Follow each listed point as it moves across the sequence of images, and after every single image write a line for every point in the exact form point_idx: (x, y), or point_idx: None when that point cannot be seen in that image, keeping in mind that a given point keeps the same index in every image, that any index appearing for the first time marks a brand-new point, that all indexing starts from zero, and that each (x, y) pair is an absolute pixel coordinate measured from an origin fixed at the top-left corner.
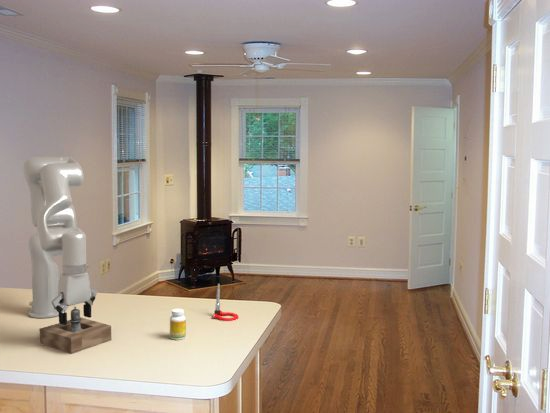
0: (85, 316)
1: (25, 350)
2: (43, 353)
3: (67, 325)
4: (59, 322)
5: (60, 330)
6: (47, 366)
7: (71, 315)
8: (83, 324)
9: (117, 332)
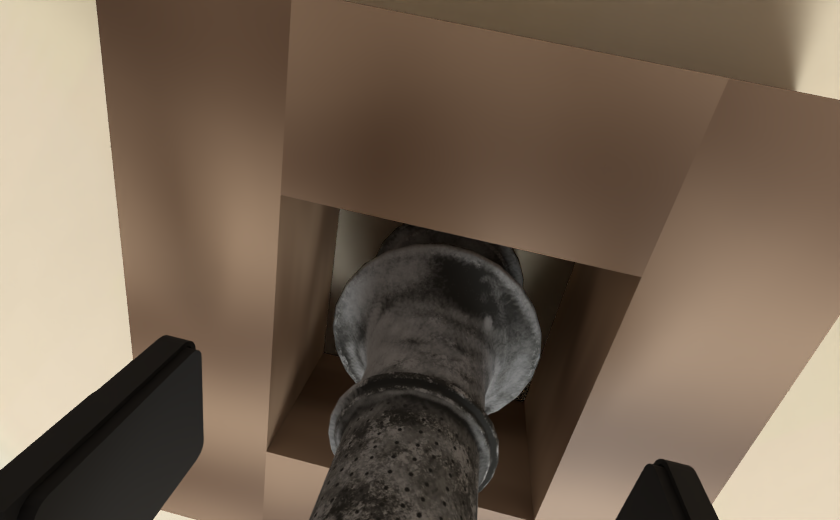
0: (630, 493)
1: (33, 12)
2: (106, 224)
3: (450, 231)
4: (163, 341)
5: (232, 295)
6: (12, 393)
7: (318, 500)
8: (593, 375)
9: (818, 462)
